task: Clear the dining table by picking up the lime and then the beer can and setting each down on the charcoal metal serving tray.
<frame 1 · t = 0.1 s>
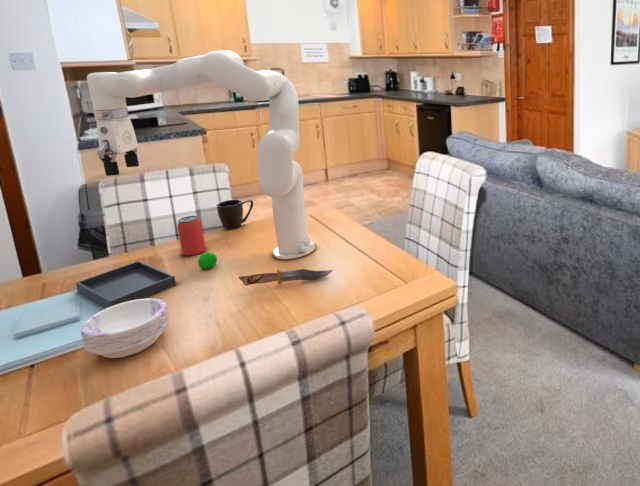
hand: (123, 170, 139), 31 cm above the table, tool pointing down, fingers open, 9 cm apart
paper bowls: (131, 345, 107), on the table
tray: (127, 288, 132), on the table
lime: (208, 268, 144), on the table
knife: (289, 285, 133), on the table
beer can: (194, 252, 155), on the table
mug: (238, 225, 178), on the table
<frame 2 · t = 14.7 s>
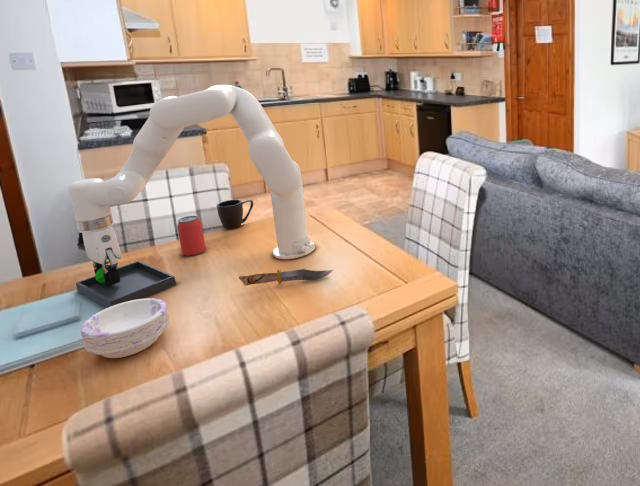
hand: (108, 281, 133), 2 cm above the table, tool pointing down, fingers closed on lime, 5 cm apart
lime: (108, 283, 133), point 1 cm above the table, touching gripper
everything else where it was.
when the fingers open (2 cm above the table, at t = 15.8 s): lime stays where it is, resting on tray.
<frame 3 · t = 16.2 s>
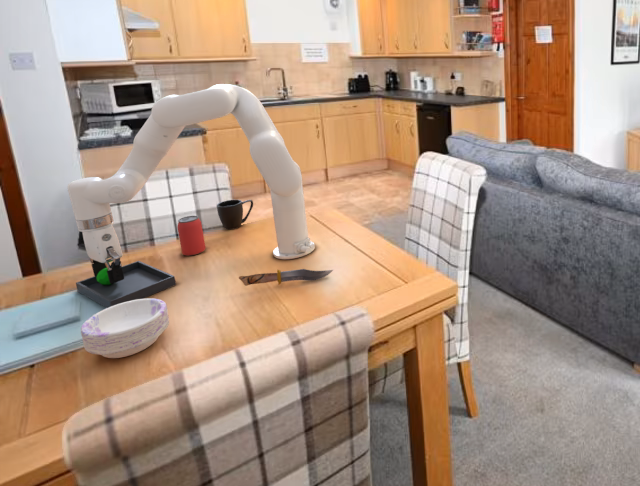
hand: (109, 277, 133), 3 cm above the table, tool pointing down, fingers open, 8 cm apart
lime: (110, 284, 133), point 1 cm above the table, touching tray
everything else where it was.
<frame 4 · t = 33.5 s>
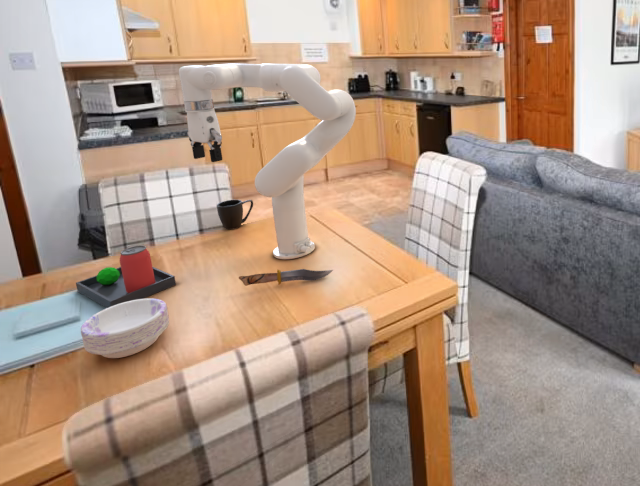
hand: (208, 159, 147), 32 cm above the table, tool pointing down, fingers open, 9 cm apart
beer can: (141, 289, 130), point 1 cm above the table, touching tray
everything else where it was.
at the end: lime inside the target area in the tray (6.1 cm from its centre), point 0.6 cm above the tray's base; beer can inside the target area in the tray (6.1 cm from its centre), point 0.6 cm above the tray's base; beer can tilted 0° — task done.
